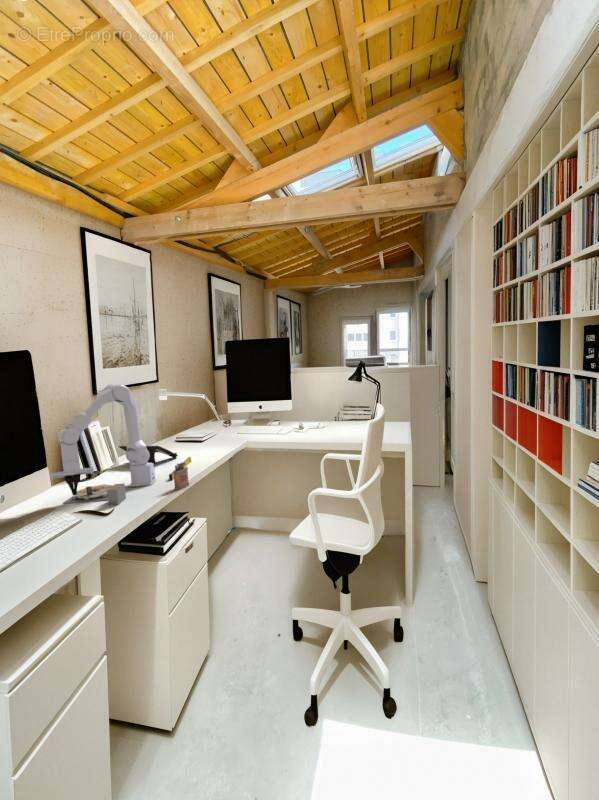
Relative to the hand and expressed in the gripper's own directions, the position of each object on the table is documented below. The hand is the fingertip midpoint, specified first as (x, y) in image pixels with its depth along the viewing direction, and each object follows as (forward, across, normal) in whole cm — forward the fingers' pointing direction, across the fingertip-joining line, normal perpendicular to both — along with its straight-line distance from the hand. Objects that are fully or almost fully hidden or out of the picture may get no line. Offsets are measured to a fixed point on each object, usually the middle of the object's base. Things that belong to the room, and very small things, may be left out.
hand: (74, 494), depth 176 cm
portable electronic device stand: (+3, +34, +54) cm, 64 cm away
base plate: (+3, +7, +5) cm, 9 cm away
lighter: (+3, +39, -6) cm, 40 cm away
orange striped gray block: (+3, +15, -11) cm, 19 cm away
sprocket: (+3, +7, +5) cm, 9 cm away
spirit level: (+3, +44, +23) cm, 50 cm away
